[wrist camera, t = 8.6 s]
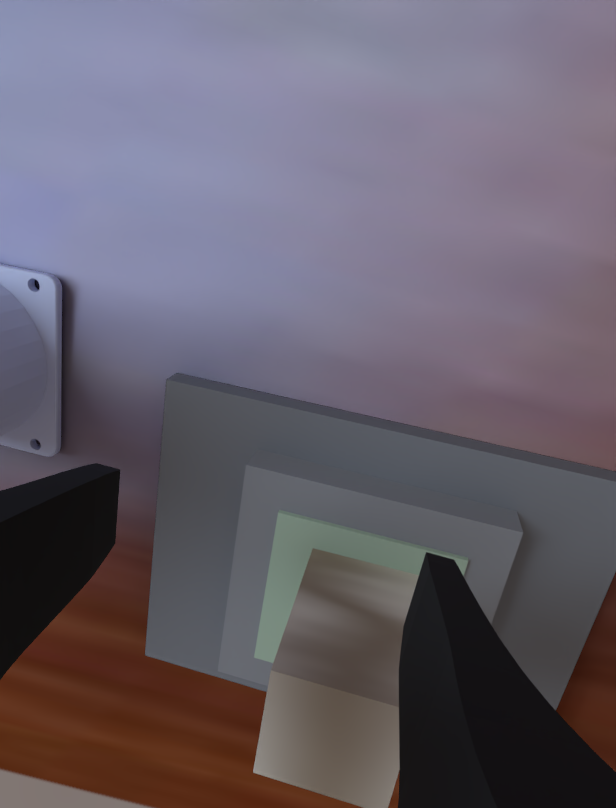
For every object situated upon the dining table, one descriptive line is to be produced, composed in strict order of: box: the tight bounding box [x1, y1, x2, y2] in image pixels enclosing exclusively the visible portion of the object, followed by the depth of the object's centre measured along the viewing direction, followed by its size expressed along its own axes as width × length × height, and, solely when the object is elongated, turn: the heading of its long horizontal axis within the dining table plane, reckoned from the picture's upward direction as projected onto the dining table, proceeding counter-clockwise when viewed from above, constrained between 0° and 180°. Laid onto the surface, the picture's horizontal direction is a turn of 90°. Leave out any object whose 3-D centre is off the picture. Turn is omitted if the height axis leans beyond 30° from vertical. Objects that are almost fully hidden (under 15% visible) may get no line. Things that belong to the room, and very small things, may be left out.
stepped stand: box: [145, 373, 616, 711], centre depth 22 cm, size 18×14×3 cm
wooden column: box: [253, 548, 419, 808], centre depth 18 cm, size 4×4×6 cm
